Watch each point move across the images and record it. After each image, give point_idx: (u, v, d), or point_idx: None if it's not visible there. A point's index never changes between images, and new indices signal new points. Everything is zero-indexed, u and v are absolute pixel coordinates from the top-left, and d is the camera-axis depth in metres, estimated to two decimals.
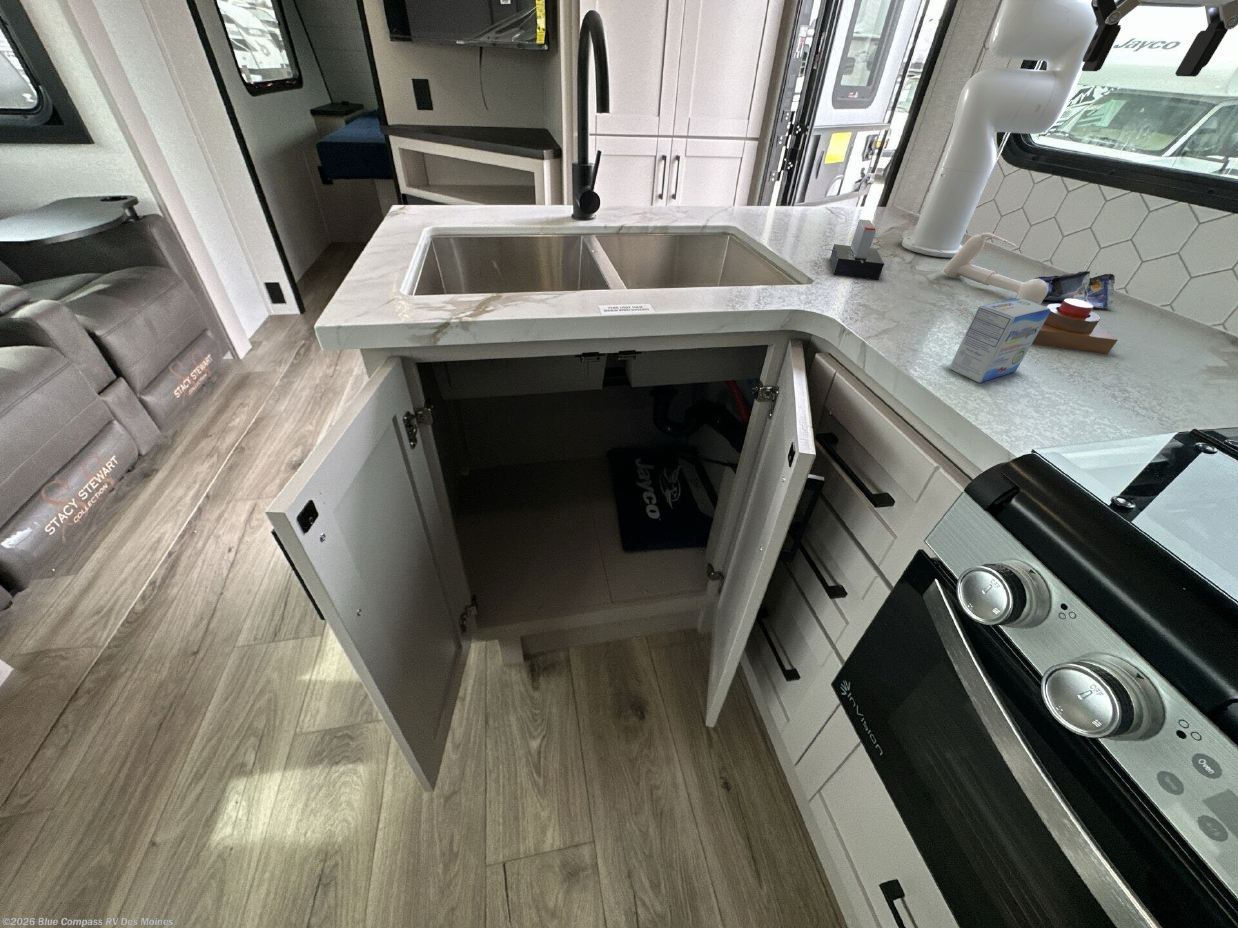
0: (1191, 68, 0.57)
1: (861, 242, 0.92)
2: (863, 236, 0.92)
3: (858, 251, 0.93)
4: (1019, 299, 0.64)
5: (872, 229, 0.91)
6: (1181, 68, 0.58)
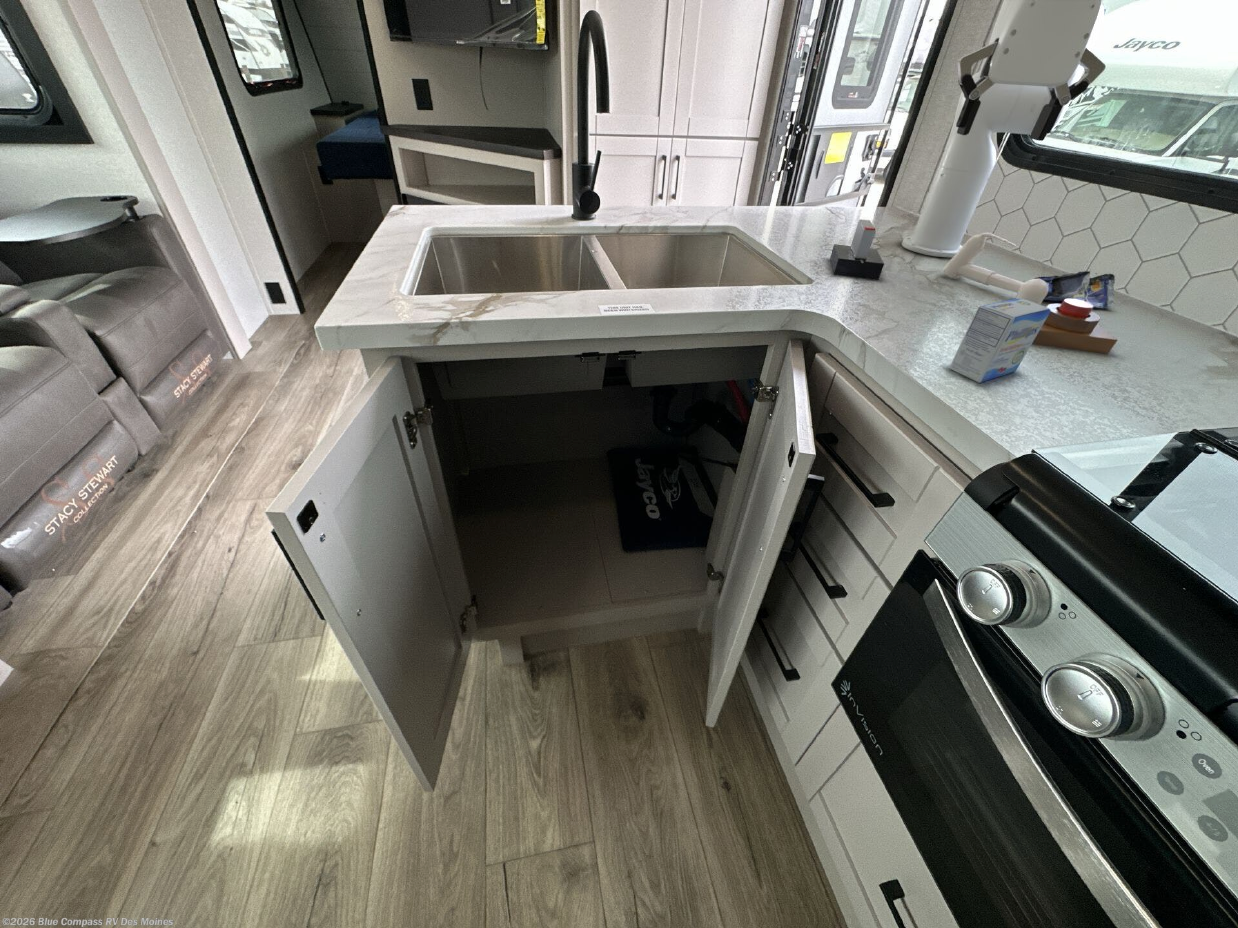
0: (1039, 134, 0.70)
1: (861, 242, 0.92)
2: (863, 236, 0.92)
3: (858, 251, 0.93)
4: (1019, 299, 0.64)
5: (872, 229, 0.91)
6: (1033, 133, 0.72)
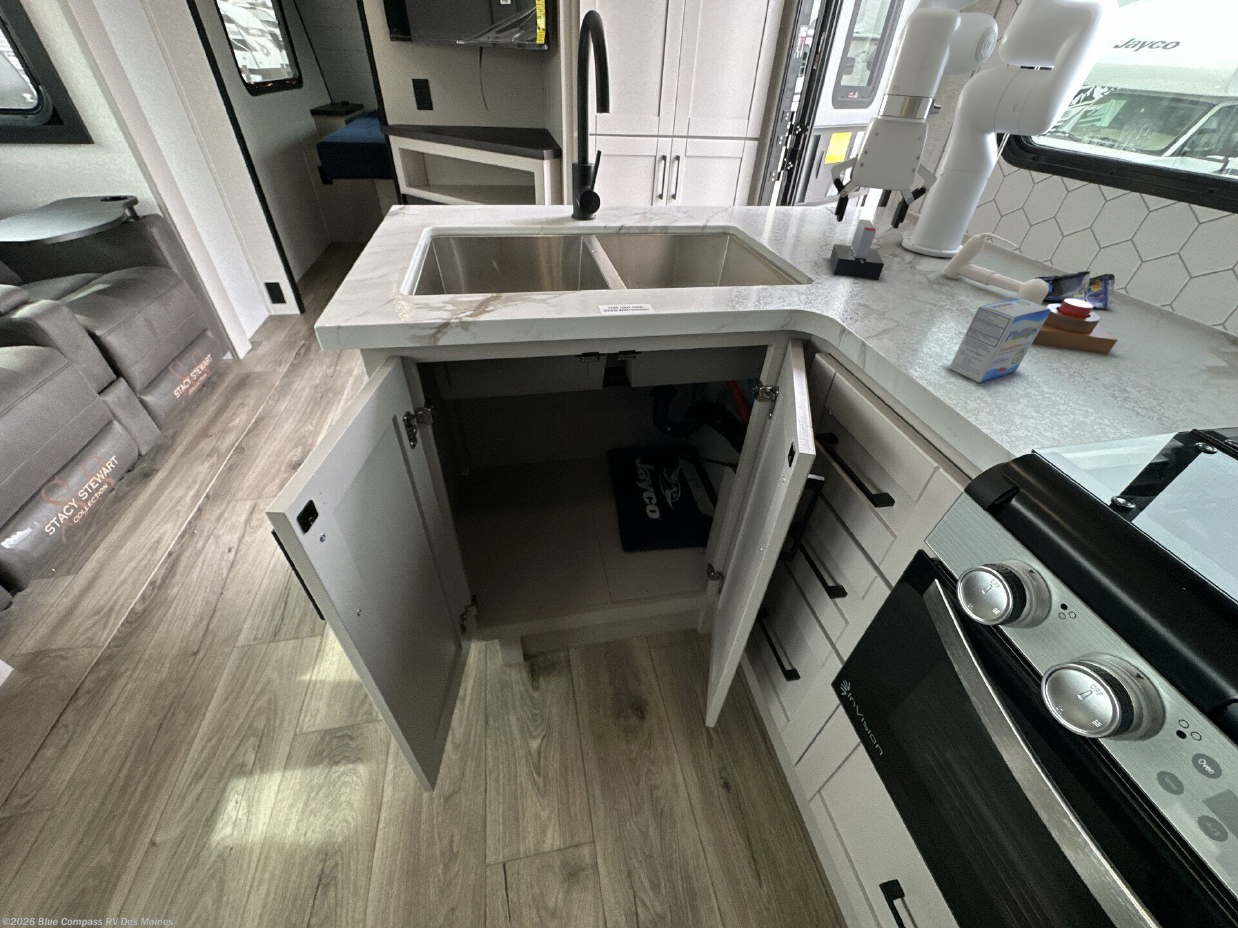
0: (894, 224, 0.91)
1: (861, 242, 0.92)
2: (863, 236, 0.92)
3: (858, 251, 0.93)
4: (1019, 299, 0.64)
5: (872, 229, 0.91)
6: (892, 221, 0.93)
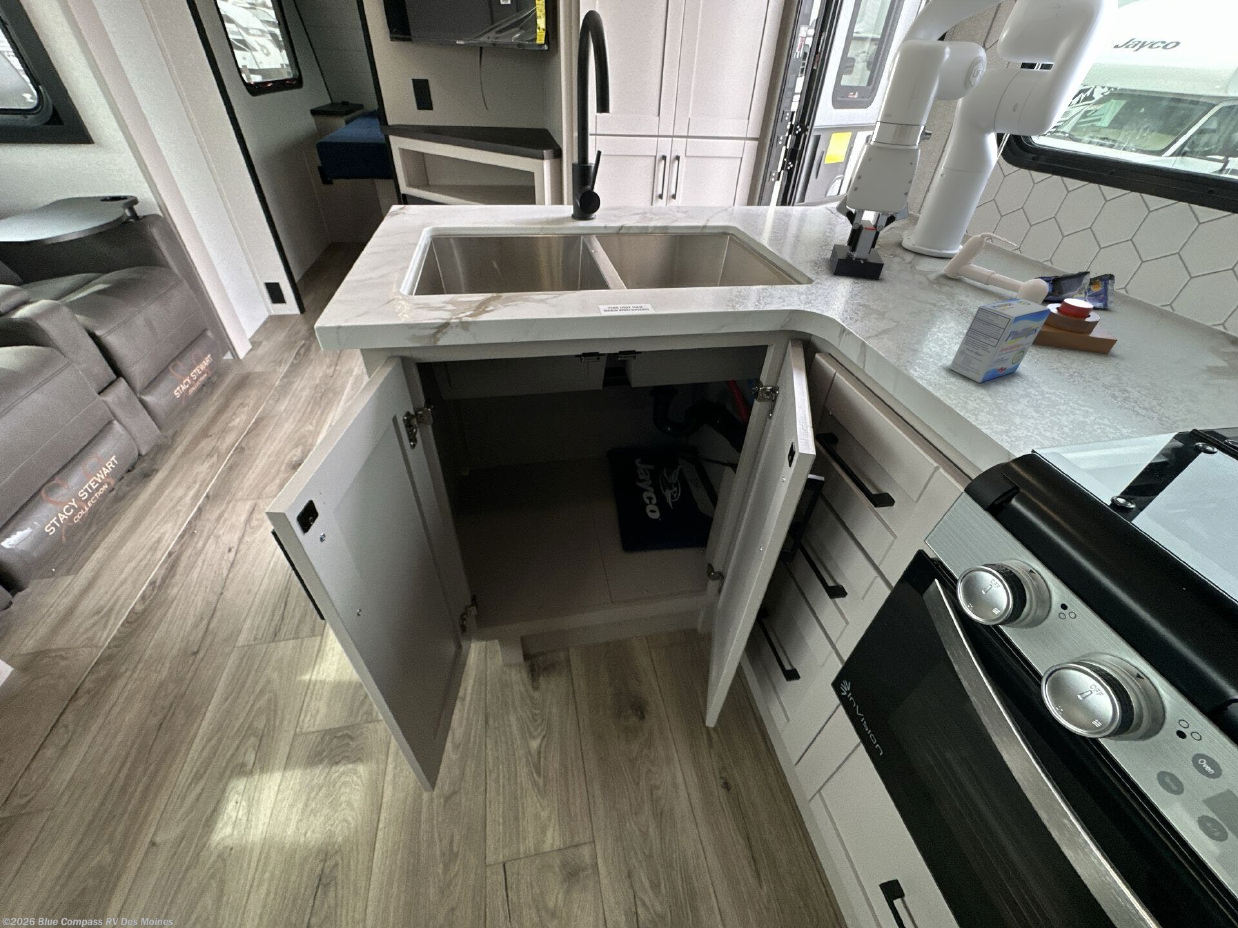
0: None
1: (861, 242, 0.92)
2: (863, 236, 0.92)
3: (858, 251, 0.93)
4: (1019, 299, 0.64)
5: (872, 229, 0.91)
6: None
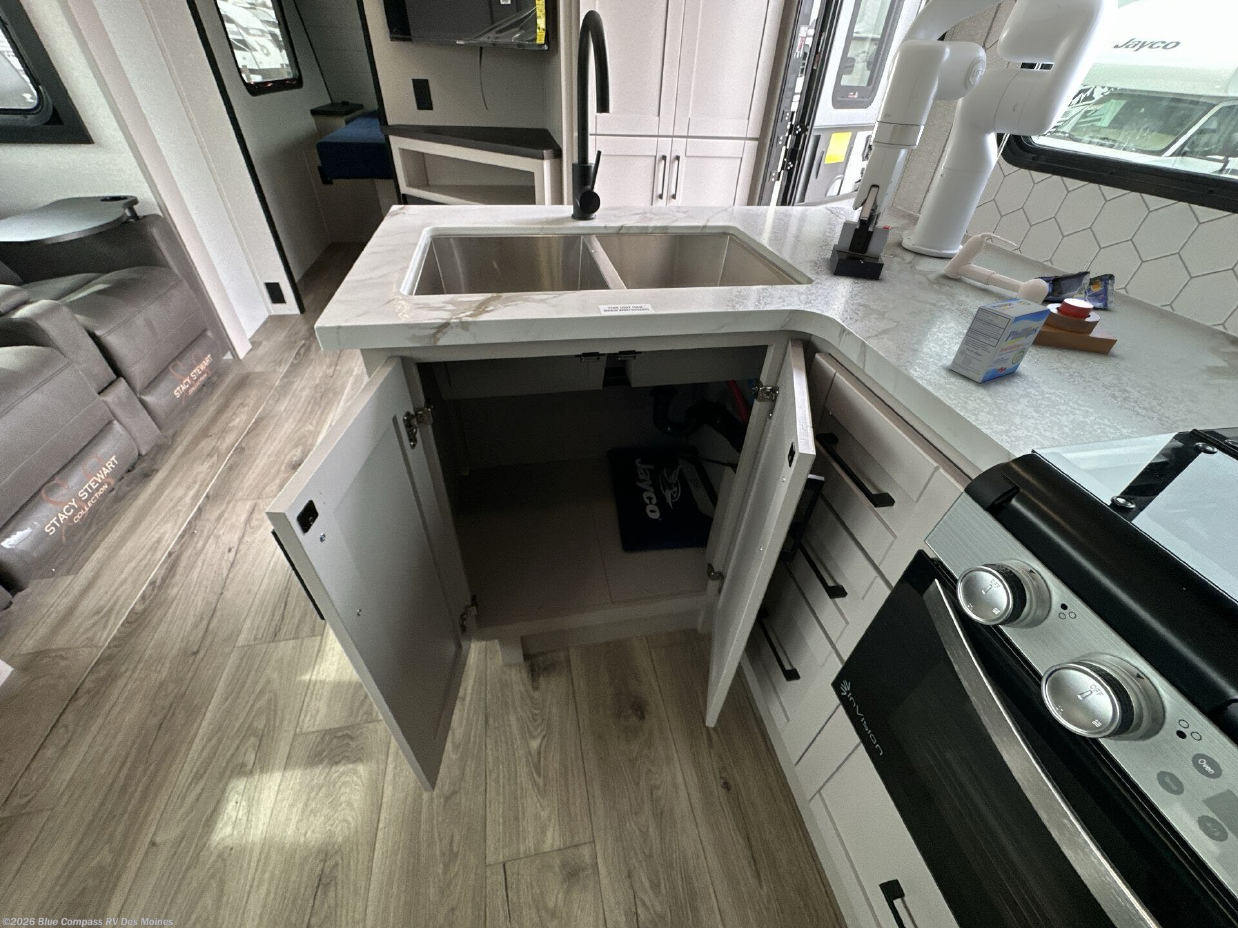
0: None
1: (884, 242, 0.93)
2: (887, 236, 0.92)
3: (881, 251, 0.94)
4: (1019, 299, 0.64)
5: (889, 227, 0.92)
6: None
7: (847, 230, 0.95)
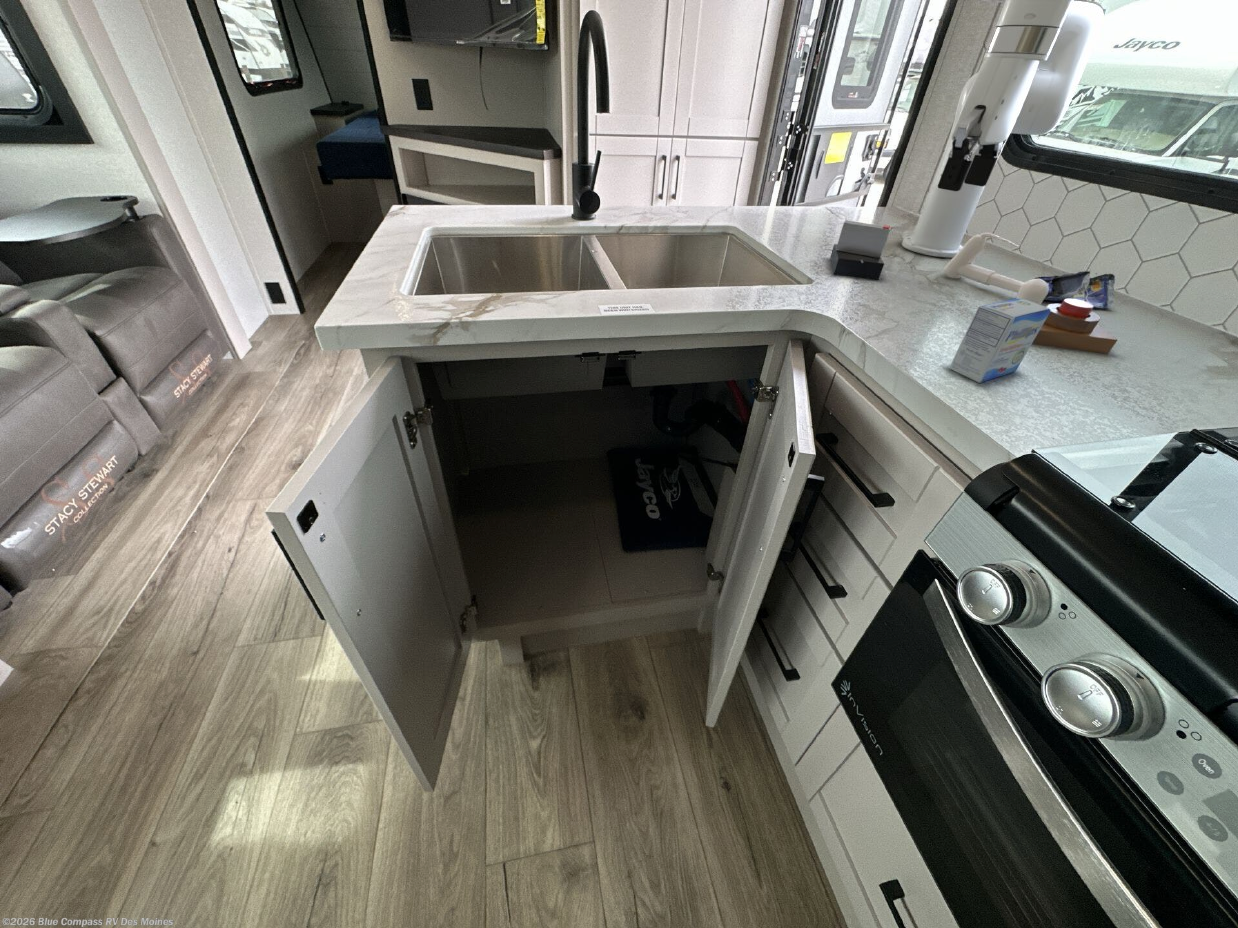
0: (982, 181, 0.81)
1: (885, 242, 0.93)
2: (887, 236, 0.92)
3: (882, 251, 0.94)
4: (1019, 299, 0.64)
5: (889, 227, 0.93)
6: (970, 179, 0.82)
7: (847, 230, 0.95)
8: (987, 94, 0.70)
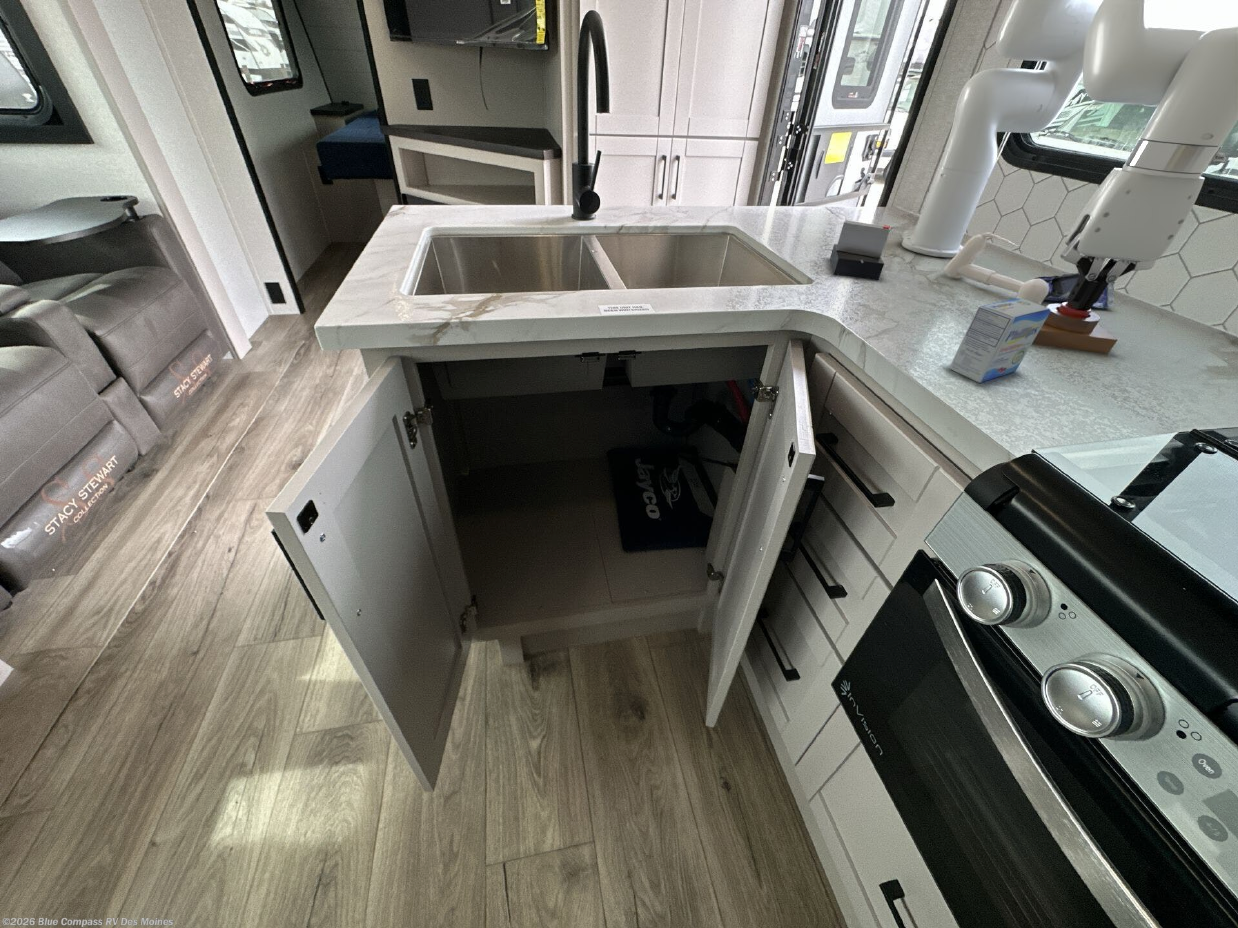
0: (1084, 305, 0.72)
1: (885, 242, 0.93)
2: (887, 236, 0.92)
3: (882, 251, 0.94)
4: (1019, 299, 0.64)
5: (889, 227, 0.93)
6: None
7: (847, 230, 0.95)
8: (1095, 204, 0.66)
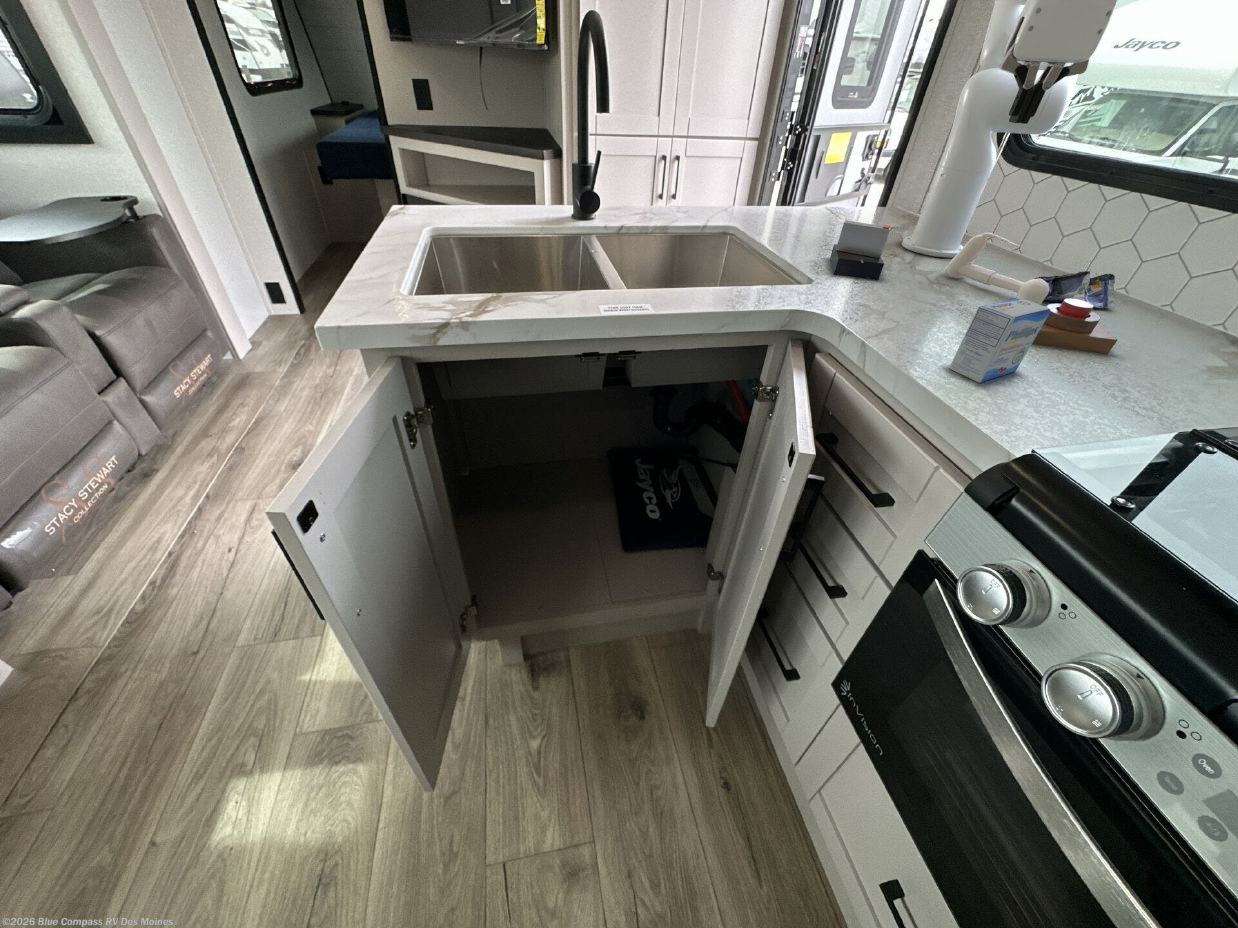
0: (1023, 117, 0.75)
1: (885, 242, 0.93)
2: (887, 236, 0.92)
3: (882, 251, 0.94)
4: (1019, 299, 0.64)
5: (889, 227, 0.93)
6: None
7: (847, 230, 0.95)
8: (1029, 4, 0.69)
